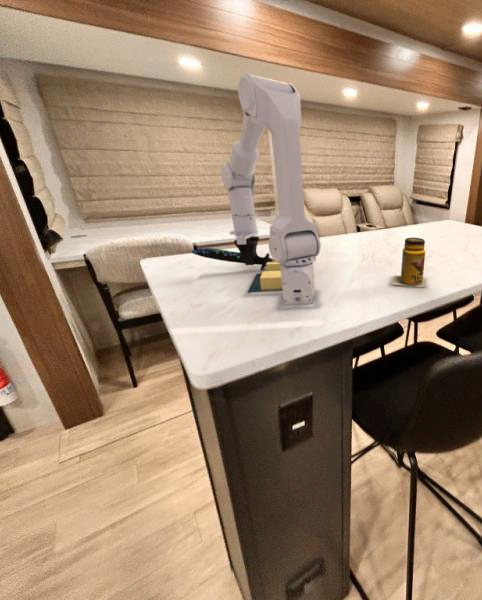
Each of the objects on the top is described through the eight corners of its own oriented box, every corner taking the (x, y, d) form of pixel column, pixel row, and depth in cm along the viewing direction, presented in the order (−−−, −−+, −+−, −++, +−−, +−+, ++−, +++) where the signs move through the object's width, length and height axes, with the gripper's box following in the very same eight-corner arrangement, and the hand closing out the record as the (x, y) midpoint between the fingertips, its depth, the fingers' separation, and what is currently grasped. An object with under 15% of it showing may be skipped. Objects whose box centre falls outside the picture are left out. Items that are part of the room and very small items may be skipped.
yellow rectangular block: (287, 288, 75) (286, 277, 74) (261, 289, 74) (259, 277, 73) (288, 281, 80) (287, 270, 79) (264, 282, 79) (262, 271, 77)
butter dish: (299, 293, 75) (299, 290, 75) (247, 295, 73) (246, 292, 72) (301, 274, 88) (301, 272, 87) (256, 276, 85) (256, 273, 85)
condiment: (423, 287, 82) (428, 243, 77) (392, 285, 83) (394, 241, 78) (423, 278, 89) (427, 237, 84) (394, 276, 89) (396, 235, 84)
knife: (307, 272, 92) (308, 258, 91) (306, 276, 89) (307, 261, 88) (196, 259, 87) (195, 243, 85) (191, 261, 84) (190, 245, 82)
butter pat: (290, 274, 85) (289, 263, 84) (267, 274, 84) (265, 264, 83) (290, 271, 87) (289, 261, 86) (268, 272, 86) (266, 262, 85)
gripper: (233, 210, 87) (240, 257, 93) (219, 219, 75) (229, 272, 80) (259, 210, 89) (265, 256, 94) (251, 219, 76) (257, 271, 81)
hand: (250, 263), depth 87 cm, fingers closed on knife
